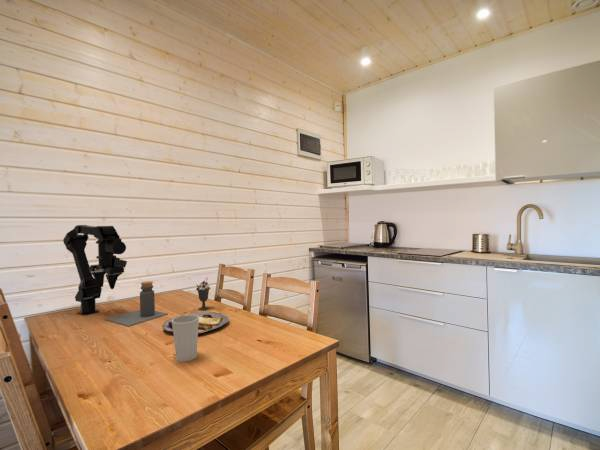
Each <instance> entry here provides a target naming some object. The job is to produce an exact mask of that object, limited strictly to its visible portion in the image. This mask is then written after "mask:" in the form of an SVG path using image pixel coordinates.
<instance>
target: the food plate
mask: <svg viewBox="0 0 600 450" xmlns="http://www.w3.org/2000/svg"><path fill="white" fill-rule="evenodd" d="M183 315H197V316H199V325H198V334H202V333H205V332H208V331H212V330H214V329H215V330H216V329H217V328H221V327H222V326H224V325H225V324H227V323H228V322H229V321H230V318H229V317H228V315H225V314H222V313H221V312H211V311H210V312H208V311H207V312H202V311H201V312H194V313H190V312H188V311H185V312H184V313H182V314H181V316H183ZM179 316H180V315H179ZM179 316H175V317H172V318H169V319H168V320H166V321H165V322H164V323H163V325H162V328H163V330H164V331H166V332H173V328H172V319H174V318H176V317H179ZM213 326H214V327H213Z"/></svg>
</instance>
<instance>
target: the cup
mask: <svg viewBox="0 0 600 450" xmlns="http://www.w3.org/2000/svg"><path fill="white" fill-rule="evenodd" d="M182 315H183V314H182ZM182 315H179V317H177V316H175V317H176V318H175V317H173V318H174V319H172V318H171V319H172V328H173V331H172V333H173V343H174V351H175V355H174V357H175V361H177V362H189V361H193V360H194V359H196V358H197V357H198V340H199V339H198V335H199V333H198V332H199V330H198V325H199V316H197V315H183V316H182Z"/></svg>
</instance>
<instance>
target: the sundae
mask: <svg viewBox="0 0 600 450" xmlns="http://www.w3.org/2000/svg"><path fill="white" fill-rule="evenodd" d="M207 280H208V277H206V278H205V280H203V281H202V282H200V284H196V286H197V288H196V289H195V290H196V291H197V293H198V300H199V301H200V302H201V307H199V308H198V311H207V310H209V309H210V306H209V307H208V306H206V301H208V299H209V293H210V290H211V286H210V285H209V284H208V281H207Z"/></svg>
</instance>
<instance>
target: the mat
mask: <svg viewBox="0 0 600 450" xmlns="http://www.w3.org/2000/svg"><path fill="white" fill-rule="evenodd" d="M167 315H169V314H168V313H167V312H162V311H157V310H155V314H154V315H153V316H149V317H141V316H140V309H136V310H133V311H130V312H125V313H123V314H118V315H115V316H111V317H108V318H105V319H104V320H105V321H108V322H111V323H116V324H117V325H121V326H125V327H128V328H129V327H132V326H136V325H138V324H142V323H145V322H148V321H152V320H154V319H158V318H161V317H163V316H167Z"/></svg>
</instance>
